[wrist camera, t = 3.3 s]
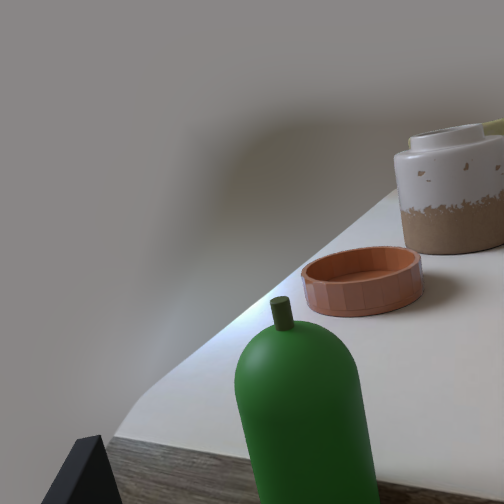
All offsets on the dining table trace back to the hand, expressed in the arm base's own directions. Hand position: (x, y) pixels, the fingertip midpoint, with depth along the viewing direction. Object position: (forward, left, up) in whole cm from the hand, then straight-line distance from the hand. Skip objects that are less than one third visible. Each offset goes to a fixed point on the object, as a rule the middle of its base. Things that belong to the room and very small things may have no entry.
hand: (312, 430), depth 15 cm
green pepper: (-2, +9, -12) cm, 15 cm away
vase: (+17, +61, -12) cm, 65 cm away
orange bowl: (+2, +43, -12) cm, 45 cm away
